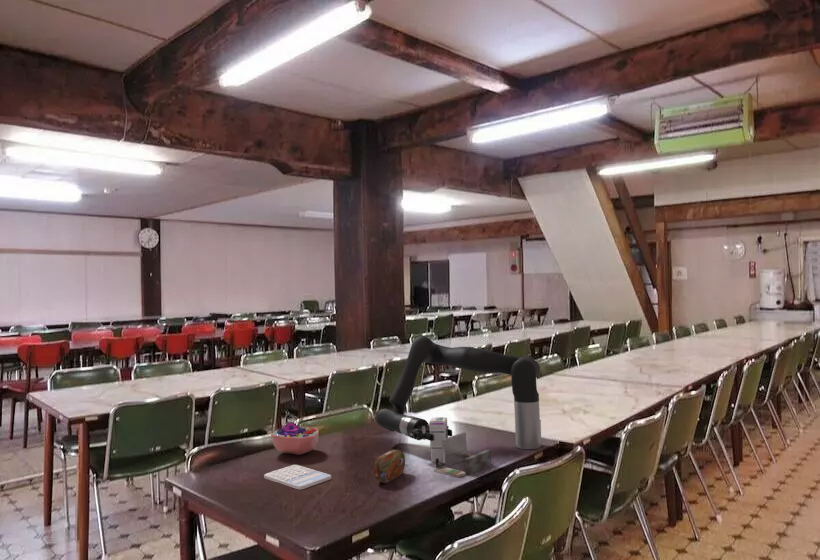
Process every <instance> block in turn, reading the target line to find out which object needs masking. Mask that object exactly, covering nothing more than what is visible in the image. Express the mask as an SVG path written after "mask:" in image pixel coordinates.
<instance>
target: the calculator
mask: <svg viewBox="0 0 820 560" xmlns="http://www.w3.org/2000/svg"><path fill="white" fill-rule="evenodd" d="M263 476H264V477H263V478H264V479H265V480H268V481H271V482H275V483H277V484H281V485H283V486H286V487H290V488H292V489H295V490H305V489H308V488H310V487H313V486H316V485H319V484H321V483H324V482H327V481H330V480H332V475H331V474H328V473H325V472H322V471H319V470H316V469H312V468H309V467H305V466H303V465H299V464H291V465H289V466H285V467H282V468H279V469H276V470H272V471H270V472H267V473H264V474H263Z"/></svg>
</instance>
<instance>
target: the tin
mask: <svg viewBox="0 0 820 560" xmlns="http://www.w3.org/2000/svg"><path fill="white" fill-rule="evenodd" d="M405 466H406V458H405V454H404V452H403V451H402V450H401V449H391V450H389V451H387V452H386V453H384V454H382V455H379V456H378V457H377V458H376V459H375V462H374V466H373V469H374V471H373V472H374V478H375V480H376V481H377V482H378V483H383V484H388V483H390V482H391V481H393V480H395V479H397V478H398V477H400V476H401V475H402V473H403V472H404V471H405Z"/></svg>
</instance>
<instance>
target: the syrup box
mask: <svg viewBox="0 0 820 560" xmlns="http://www.w3.org/2000/svg"><path fill="white" fill-rule="evenodd" d="M428 422H429V423H428V424H429V427H430V434H433V435H434V441H430V440H429V442H430V443H429V444H430V445H429V446H430V462H431V463H436V458H438V459H439V464H443V447H442V439H445V438H448V437H449V436H448V429H449V428H448V427H449V426H448V418H447V417H441V416H437V417H431V419H430V420H429V421H428ZM447 426H448V427H447Z"/></svg>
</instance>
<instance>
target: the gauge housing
mask: <svg viewBox="0 0 820 560" xmlns="http://www.w3.org/2000/svg"><path fill="white" fill-rule="evenodd" d="M463 460H464V471H463V470H458V469H455V468H450V467H447V466H446V467H444V466H442V467H440V468H436V467H434V468H433V472H435V473H438V474H442V475H446V476H447V475H448V476H450V477H451V476H452V477H455V478H461V477H463V476H466V475H467V476H470V475H472V474H475V473H476V471H477V472H478V471H479V472H480V471H482V470H484V469H485V468H488V467H490V466H492V450H491V449H485V450H483V451H479V452H478V453H475V454H469V453H467V458H465V459H463ZM483 468H484V469H483ZM474 472H475V473H474Z"/></svg>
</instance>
